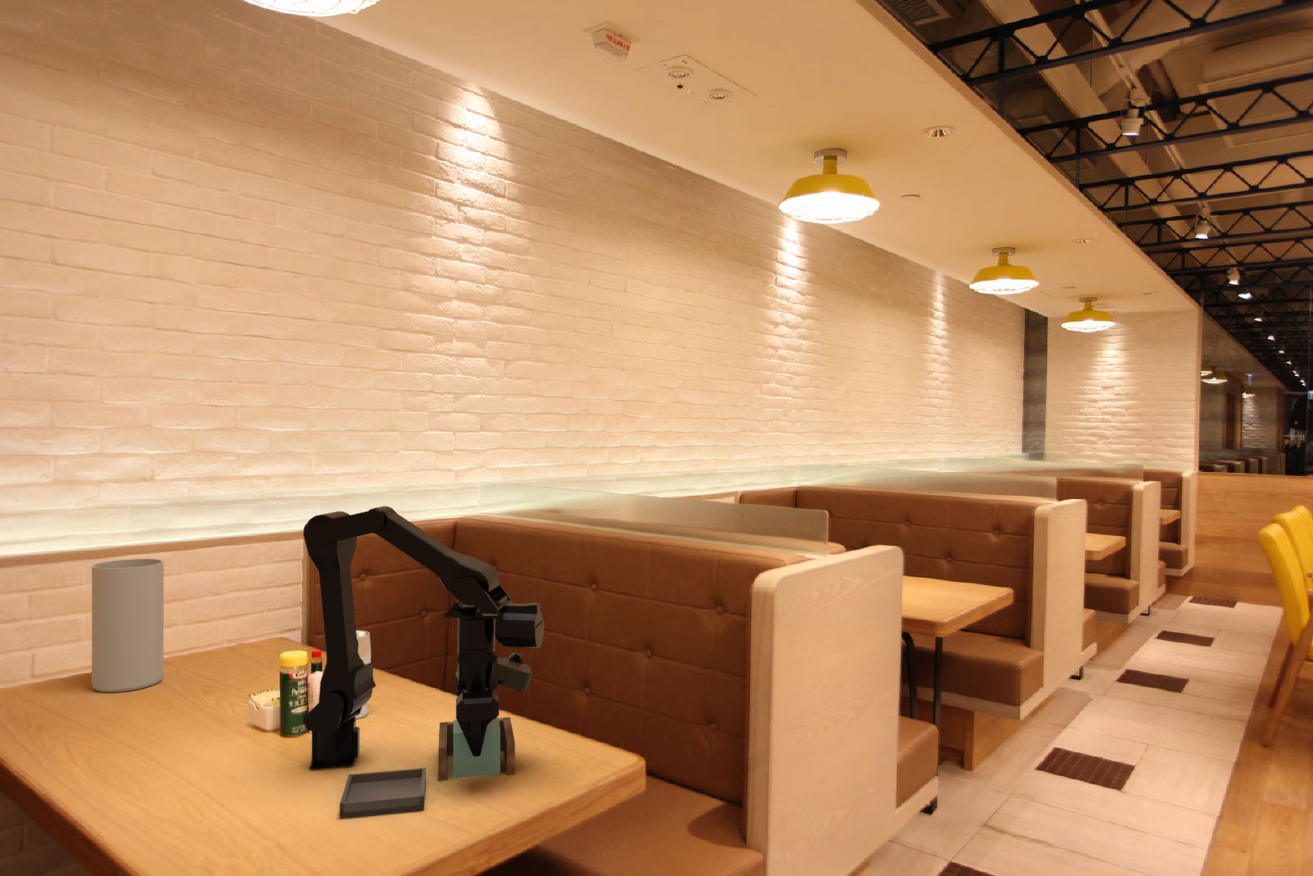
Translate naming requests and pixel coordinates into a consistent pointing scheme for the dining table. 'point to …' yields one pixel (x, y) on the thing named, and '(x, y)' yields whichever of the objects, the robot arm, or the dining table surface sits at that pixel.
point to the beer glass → (363, 659)
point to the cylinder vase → (127, 624)
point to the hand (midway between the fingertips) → (475, 745)
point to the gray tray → (383, 793)
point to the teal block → (481, 764)
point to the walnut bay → (447, 746)
